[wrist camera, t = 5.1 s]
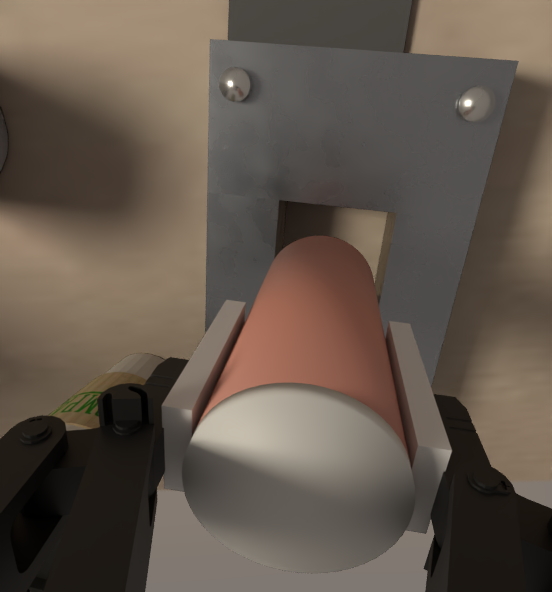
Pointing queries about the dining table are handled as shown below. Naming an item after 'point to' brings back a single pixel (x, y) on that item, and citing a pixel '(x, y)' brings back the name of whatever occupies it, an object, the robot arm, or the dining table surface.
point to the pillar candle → (3, 141)
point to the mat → (322, 23)
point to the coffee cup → (95, 417)
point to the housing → (351, 165)
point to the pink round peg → (305, 423)
